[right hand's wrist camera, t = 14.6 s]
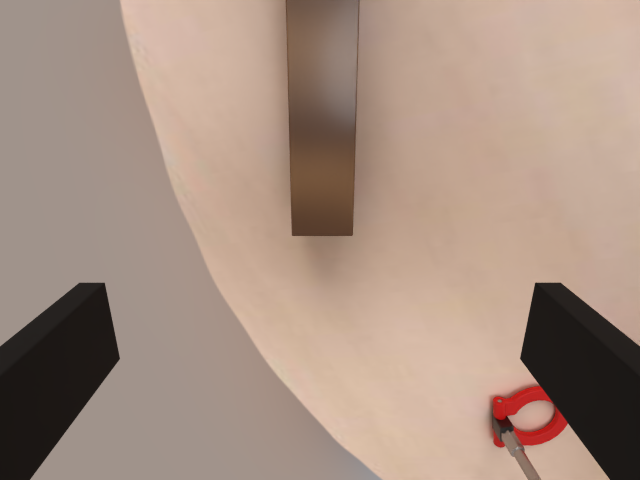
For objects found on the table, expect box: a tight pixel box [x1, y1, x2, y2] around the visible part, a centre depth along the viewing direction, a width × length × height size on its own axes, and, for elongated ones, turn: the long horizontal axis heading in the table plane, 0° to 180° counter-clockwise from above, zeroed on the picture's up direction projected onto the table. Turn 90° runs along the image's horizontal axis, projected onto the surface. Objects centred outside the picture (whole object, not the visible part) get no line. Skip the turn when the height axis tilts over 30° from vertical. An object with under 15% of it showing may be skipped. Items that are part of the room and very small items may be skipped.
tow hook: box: [493, 386, 568, 480], centre depth 44 cm, size 8×13×9 cm
